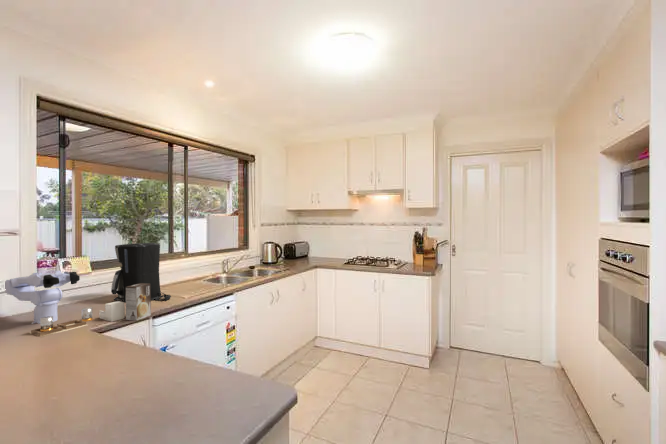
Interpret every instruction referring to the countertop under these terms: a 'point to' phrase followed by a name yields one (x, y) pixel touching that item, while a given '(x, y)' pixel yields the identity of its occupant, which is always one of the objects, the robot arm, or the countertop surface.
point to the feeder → (113, 311)
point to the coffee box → (138, 301)
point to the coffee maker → (138, 269)
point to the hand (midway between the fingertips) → (68, 279)
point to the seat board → (60, 328)
